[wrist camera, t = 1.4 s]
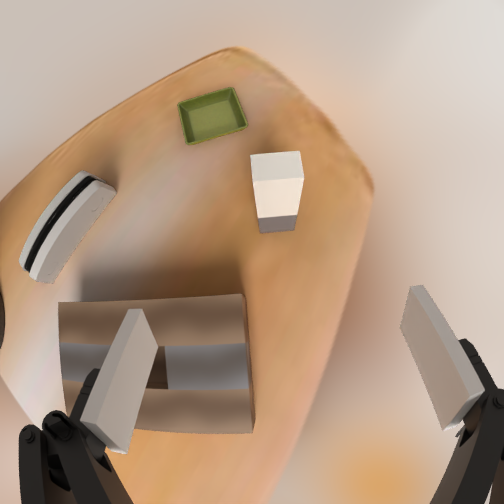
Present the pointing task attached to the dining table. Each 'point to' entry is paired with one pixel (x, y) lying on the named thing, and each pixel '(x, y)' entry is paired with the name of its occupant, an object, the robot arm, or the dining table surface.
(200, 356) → the post foot
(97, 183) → the grey curved slotted block
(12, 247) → the dining table surface
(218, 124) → the olive green shallow tray
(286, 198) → the rail end
